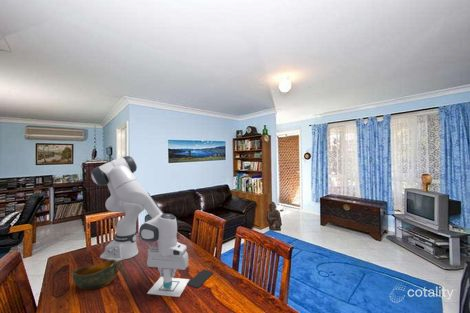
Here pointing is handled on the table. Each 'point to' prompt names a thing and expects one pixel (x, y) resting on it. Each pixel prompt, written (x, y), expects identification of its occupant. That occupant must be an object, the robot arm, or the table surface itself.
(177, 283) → the paper
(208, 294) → the table surface
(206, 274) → the phone
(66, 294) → the table surface
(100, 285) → the green oval bowl
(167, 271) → the marker
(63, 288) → the table surface
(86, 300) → the table surface
